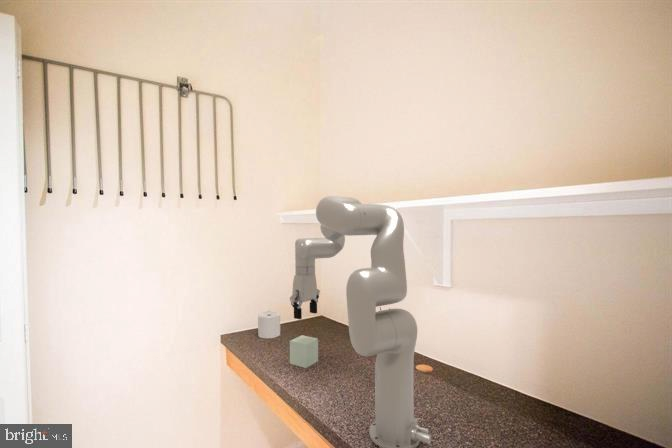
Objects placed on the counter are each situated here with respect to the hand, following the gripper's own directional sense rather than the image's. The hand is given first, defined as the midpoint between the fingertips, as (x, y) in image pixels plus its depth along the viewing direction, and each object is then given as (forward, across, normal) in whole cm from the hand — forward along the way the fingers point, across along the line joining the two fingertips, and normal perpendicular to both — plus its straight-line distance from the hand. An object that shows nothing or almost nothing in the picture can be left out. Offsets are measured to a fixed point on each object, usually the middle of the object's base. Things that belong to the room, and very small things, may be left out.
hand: (305, 315), depth 124 cm
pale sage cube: (+19, -2, -3) cm, 19 cm away
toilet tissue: (+18, -19, -38) cm, 46 cm away
